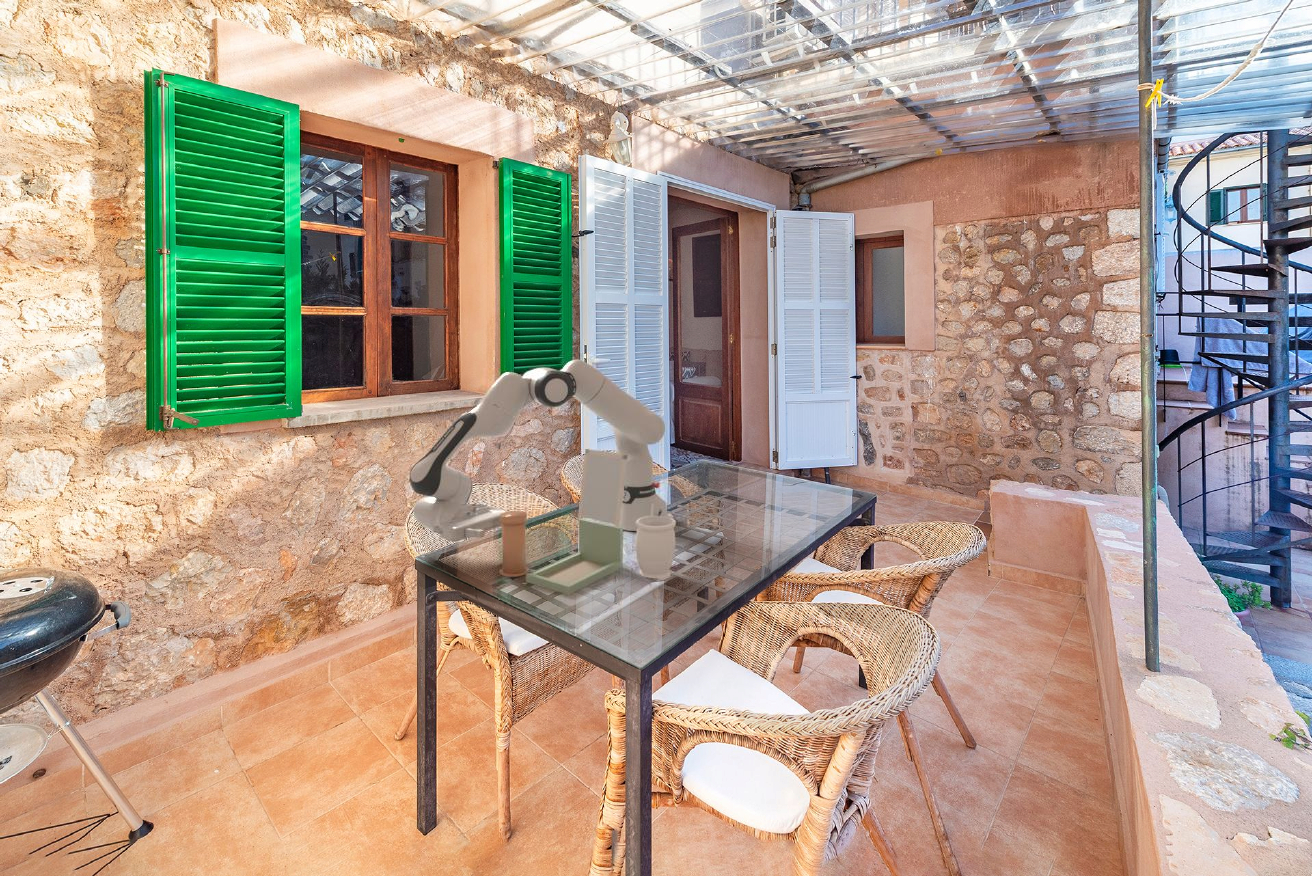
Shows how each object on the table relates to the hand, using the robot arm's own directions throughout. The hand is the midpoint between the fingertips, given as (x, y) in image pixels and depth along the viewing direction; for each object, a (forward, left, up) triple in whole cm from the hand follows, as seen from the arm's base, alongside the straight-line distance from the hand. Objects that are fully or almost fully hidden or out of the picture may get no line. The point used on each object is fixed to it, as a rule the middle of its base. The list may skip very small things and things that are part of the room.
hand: (496, 529), depth 168 cm
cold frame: (-8, +21, -11) cm, 25 cm away
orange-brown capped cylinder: (0, +6, -10) cm, 12 cm away
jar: (-21, +37, -11) cm, 44 cm away
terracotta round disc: (0, +6, -11) cm, 13 cm away
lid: (-19, +21, +11) cm, 30 cm away
